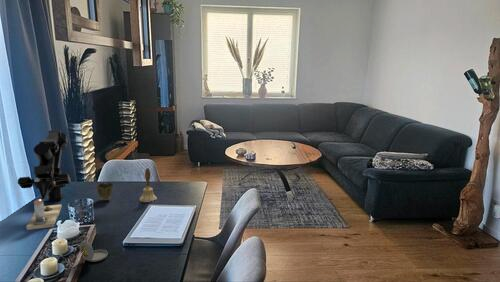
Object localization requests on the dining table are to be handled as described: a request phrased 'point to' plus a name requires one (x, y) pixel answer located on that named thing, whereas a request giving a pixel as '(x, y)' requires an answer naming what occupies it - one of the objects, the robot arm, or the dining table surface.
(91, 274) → the dining table surface
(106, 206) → the dining table surface
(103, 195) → the cup
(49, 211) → the pitch plate
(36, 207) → the grey copper topped cylinder
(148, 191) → the hand bell
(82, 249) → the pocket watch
